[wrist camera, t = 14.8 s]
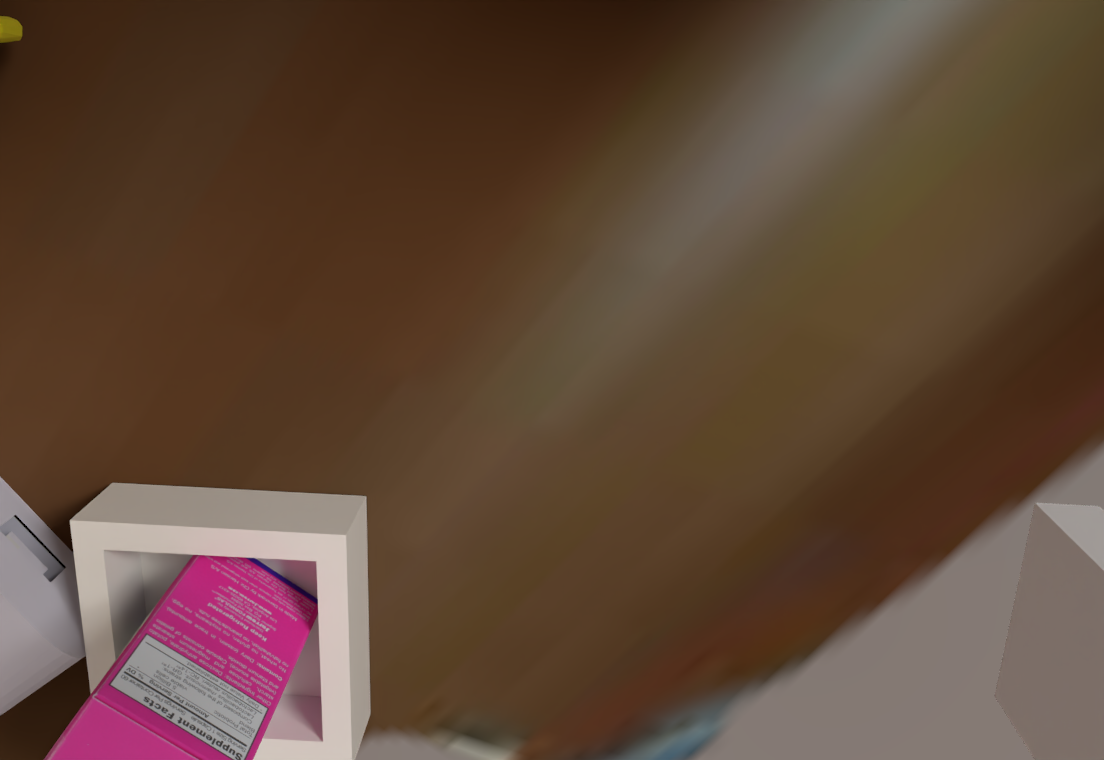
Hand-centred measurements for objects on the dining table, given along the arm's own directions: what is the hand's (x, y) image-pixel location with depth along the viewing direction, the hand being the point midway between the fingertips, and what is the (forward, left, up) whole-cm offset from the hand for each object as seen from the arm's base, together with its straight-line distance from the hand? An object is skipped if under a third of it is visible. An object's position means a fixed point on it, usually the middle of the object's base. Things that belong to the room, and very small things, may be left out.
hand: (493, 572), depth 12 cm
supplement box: (+17, -13, -26) cm, 34 cm away
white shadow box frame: (+17, -13, -27) cm, 34 cm away
